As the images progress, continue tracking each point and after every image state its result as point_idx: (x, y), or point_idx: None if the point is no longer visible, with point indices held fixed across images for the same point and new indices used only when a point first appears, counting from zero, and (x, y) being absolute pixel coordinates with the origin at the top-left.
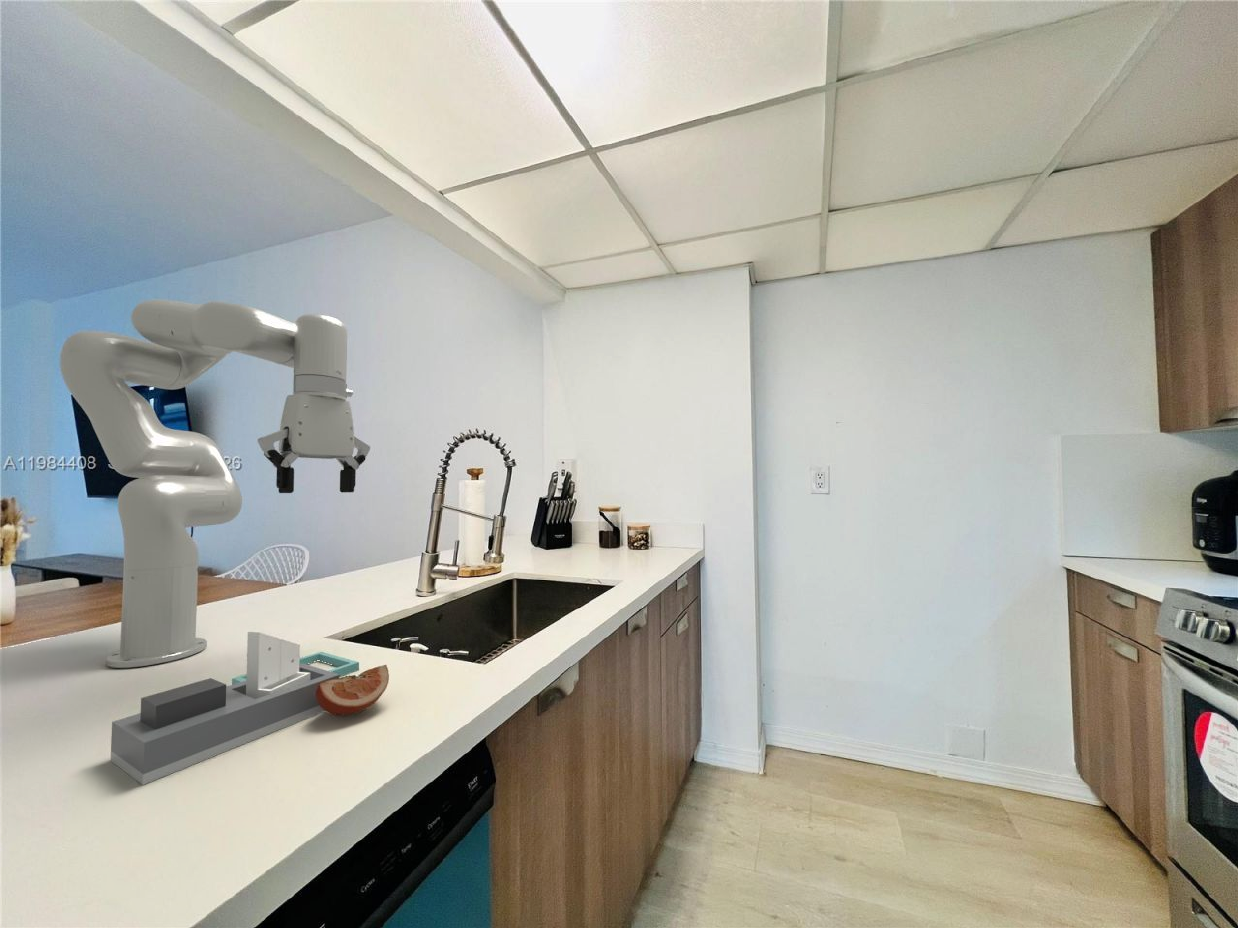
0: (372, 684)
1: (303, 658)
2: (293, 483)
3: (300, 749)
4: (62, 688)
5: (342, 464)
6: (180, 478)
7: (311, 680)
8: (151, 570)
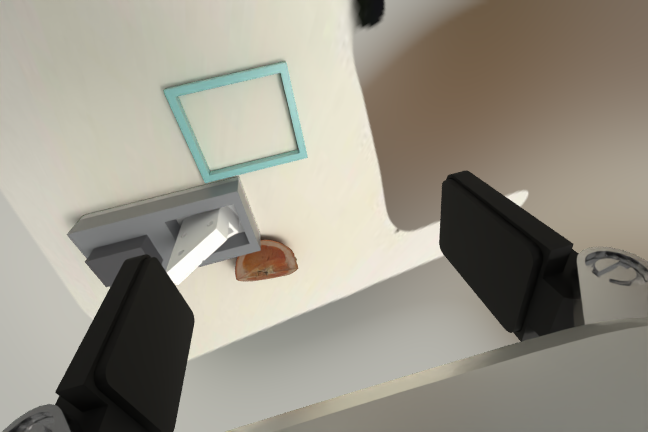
0: (279, 275)
1: (257, 77)
2: (186, 352)
3: (220, 282)
4: None
5: (574, 310)
6: None
7: (235, 248)
8: None
